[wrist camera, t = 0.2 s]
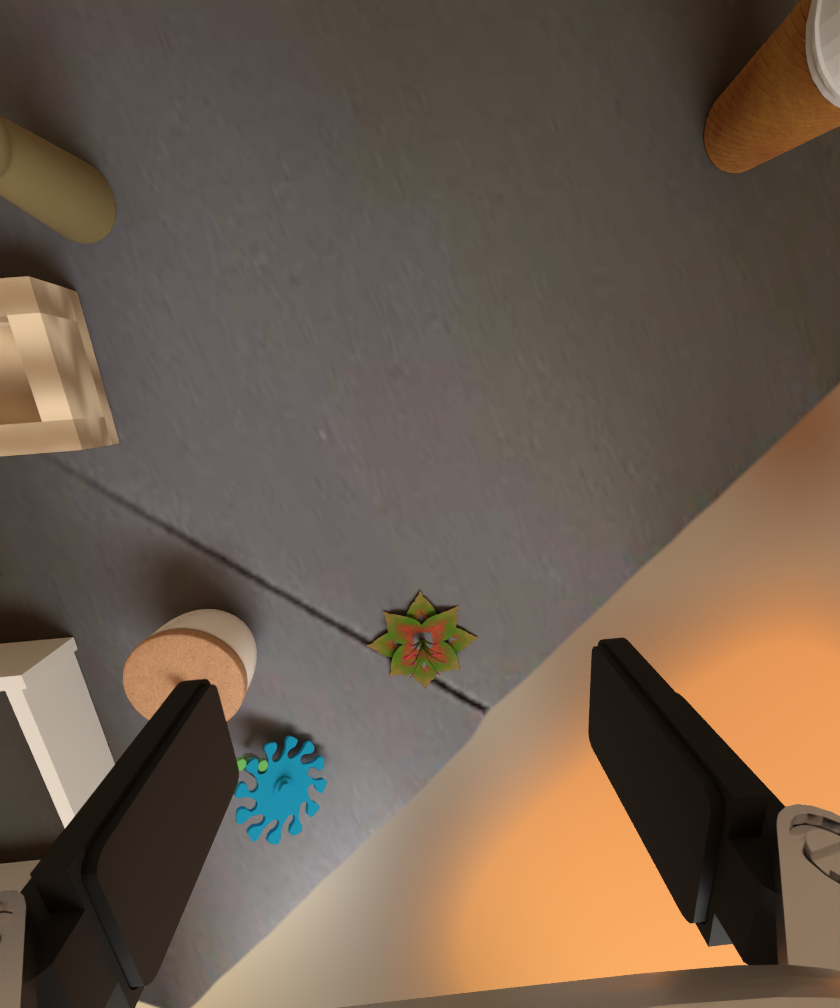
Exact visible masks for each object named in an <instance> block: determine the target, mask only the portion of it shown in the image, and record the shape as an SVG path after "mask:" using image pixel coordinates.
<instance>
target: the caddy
mask: <svg viewBox="0 0 840 1008" xmlns="http://www.w3.org/2000/svg"><path fill="white" fill-rule="evenodd" d="M113 444H119V439H118V436H117V432H116V429H115V425H114V421H113V418H112V414H111V411H110V407H109V404H108V400H107V397H106V393H105V389H104V386H103V382H102V379H101V375H100V372H99V368H98V365H97V361H96V358H95V354H94V350H93V347H92V343H91V340H90V336H89V333H88V329H87V326H86V322H85V318H84V315H83V311H82V308H81V304H80V301H79V297H78V294H77V291H73V290H70V289H67V288H64V287H61V286H58V285H55V284H52V283H48V282H45V281H42V280H39V279H36V278H33V277H30V276H25V277H11V278H0V456H11V455H23V454H35V453H48V452H60V451H73V450H84V449H90V448H95V447H101V446H107V445H113Z"/></svg>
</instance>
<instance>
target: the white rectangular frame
mask: <svg viewBox="0 0 840 1008" xmlns="http://www.w3.org/2000/svg"><path fill="white" fill-rule="evenodd" d="M76 650H77V646H76V643H75V640H74V637H69V638H58V639H47V640H36V641H25V642H14V643H3V644H0V691H6V694H7V696H8V698H9V701H10V703H11V705H12V708H13V710H14V712H15V714H16V717H17V719H18V721H19V724H20V726H21V728H22V731H23V733H24V735H25V738H26V740H27V742H28V744H29V747H30V749H31V751H32V754H33V756H34V758H35V761H36V763H37V765H38V767H39V770H40V772H41V774H42V777H43V779H44V781H45V784H46V786H47V788H48V791H49V793H50V795H51V797H52V800H53V802H54V804H55V807H56V809H57V811H58V814H59V816H60V818H61V821H62V823H63V825H64V827H65V828H66V827H67V825H68V824H69V823H70V822H71V820H72V819H73V818H74V816H75V815H76V814H77V813H78V811H79V810H80V809H81V807H82V806H83V805H84V804H85V802H86V801H87V800H88V798H89V797H90V796H91V795H92V793H93V792H94V791H95V790H96V788H97V787H98V786H99V784H100V783H101V782H102V781H103V779H104V778H105V777H106V775H107V774H108V773H109V772H110V770H111V769H112V768H113V766H114V765H115V763H114V760H113V758H112V755H111V752H110V749H109V747H108V744H107V741H106V738H105V736H104V733H103V730H102V727H101V725H100V722H99V719H98V717H97V714H96V711H95V708H94V706H93V703H92V700H91V697H90V695H89V692H88V689H87V686H86V684H85V681H84V678H83V675H82V673H81V670H80V667H79V664H78V662H77V659H76V656H75V654H74V652H75V651H76ZM39 861H40V860H32V861H23V862H13V863H3V864H0V891H6V890H16V891H18V892H19V893H20V892H21V890H22V889H23V888H24V886H25V885H26V884H27V883H28V881H29V880H30V879H31V875H30V873H31V872H32V870H33V869H34V868H35V867H36V865H37V864H38V863H39Z"/></svg>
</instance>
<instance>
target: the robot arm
mask: <svg viewBox="0 0 840 1008" xmlns="http://www.w3.org/2000/svg"><path fill="white" fill-rule="evenodd" d="M589 708H590V709H589V730H588V732H589V739H590V743H591V746H592V748H593V750H594V752H595V754H596V756H597V758H598V760H599V762H600V763H601V765H602V767H603V769H604V771H605V773H606V774H607V776H608V778H609V780H610V782H611V784H612V786H613V788H614V789H615V791H616V793H617V795H618V797H619V798H620V801H621V802H622V804H623V806H624V808H625V810H626V812H627V814H628V815H629V817H630V819H631V821H632V823H633V825H634V827H635V828H636V830H637V832H638V834H639V836H640V837H641V839H642V841H643V843H644V845H645V847H646V849H647V851H648V853H649V854H650V856H651V858H652V860H653V862H654V864H655V865H656V867H657V869H658V871H659V873H660V875H661V877H662V878H663V880H664V882H665V884H666V886H667V888H668V889H669V891H670V893H671V895H672V897H673V899H674V901H675V903H676V904H677V906H678V908H679V910H680V911H681V913H682V915H683V916H684V918H685V919H686V920H687V921H688V922H689V923H696V925H697V927H698V929H699V930H700V932H701V934H702V936H703V938H704V939H705V941H706V943H707V945H708V946H718V945H726V944H733V945H734V946H735V948H736V950H737V952H738V953H739V955H740V956H741V958H742V960H743V962H745V963H746V964H748V965H741V966H740V965H737V966H725V967H714V968H701V969H690V970H678V971H666V972H655V973H643V974H633V975H624V976H615V977H606V978H597V979H588V980H578V981H569V982H561V983H551V984H542V985H534V986H524V987H515V988H506V989H496V990H488V991H479V992H470V993H461V994H453V995H444V996H435V997H428V998H418V999H409V1000H401V1001H392V1002H384V1003H376V1004H368V1005H358V1006H350V1007H342V1008H840V816H838V815H836V814H834V813H832V812H830V811H827V810H824V809H820V808H817V807H814V806H807V805H799V804H796V805H792V806H787V807H785V806H784V805H783V804H782V803H781V802H780V801H779V800H778V798H777V797H776V796H775V795H774V794H773V793H772V792H771V791H770V790H769V789H768V788H767V787H766V786H765V784H764V783H763V782H762V781H761V780H760V779H759V778H758V777H757V776H756V775H755V774H754V773H753V772H752V770H751V769H750V768H749V767H748V766H747V765H746V764H745V763H744V762H743V761H742V760H741V759H740V758H739V757H738V756H737V754H736V753H735V752H734V751H733V750H732V749H731V748H730V747H729V746H728V745H727V744H726V743H725V742H724V741H723V739H722V738H721V737H720V736H719V735H718V734H717V733H716V732H715V731H714V730H713V729H712V728H711V727H710V725H709V724H708V723H707V722H706V721H705V720H704V719H703V718H702V717H701V716H700V715H699V714H698V713H697V712H696V711H695V710H694V708H693V707H692V706H691V705H690V704H689V703H688V702H687V701H686V700H685V699H684V698H683V697H682V696H681V695H680V694H678V693H676V692H675V691H674V690H673V689H672V688H671V687H670V686H669V685H668V683H667V682H666V681H665V680H664V679H663V678H662V677H661V676H660V675H659V674H658V673H657V672H656V670H655V669H654V668H653V667H652V666H651V665H650V664H649V663H648V662H647V661H646V660H645V659H644V658H643V656H642V655H641V654H640V653H639V652H638V651H637V650H636V649H635V648H634V647H633V646H632V644H631V643H630V642H629V641H628V640H626V639H625V638H614V639H603V640H600V641H599V643H598V646H596V647H593V649H592V661H591V684H590V707H589ZM238 778H239V769H238V764H237V761H236V757H235V753H234V749H233V745H232V742H231V738H230V734H229V730H228V727H227V723H226V719H225V715H224V711H223V708H222V704H221V700H220V696H219V693H218V689H217V686H216V685H214V684H211V683H210V681H209V680H208V679H197V680H187V681H182V682H179V683H178V684H177V685H176V687H175V688H174V689H173V691H172V692H171V693H170V694H169V696H168V697H167V698H166V700H165V701H164V702H163V703H162V705H161V706H160V707H159V709H158V710H157V711H156V712H155V714H154V715H153V716H152V718H151V719H150V720H149V721H148V723H147V724H146V725H145V727H144V728H143V729H142V730H141V732H140V733H139V734H138V736H137V737H136V738H135V739H134V741H133V742H132V743H131V745H130V746H129V747H128V748H127V750H126V751H125V752H124V754H123V755H122V756H121V757H120V759H119V760H118V761H117V763H116V764H115V765H114V766H113V768H112V769H111V770H110V772H109V773H108V774H107V775H106V777H105V778H104V779H103V781H102V782H101V783H100V784H99V786H98V787H97V788H96V790H95V791H94V792H93V793H92V795H91V796H90V797H89V798H88V800H87V801H86V802H85V804H84V805H83V806H82V807H81V809H80V810H79V811H78V813H77V814H76V815H75V816H74V818H73V819H72V820H71V822H70V823H69V824H68V825H67V827H66V828H65V829H64V831H63V832H62V833H61V834H60V836H59V837H58V838H57V840H56V841H55V842H54V843H53V845H52V846H51V847H50V849H49V850H48V851H47V852H46V854H45V855H44V856H43V858H42V859H41V860H40V861H39V863H38V864H37V865H36V867H35V868H34V869H33V870H32V872H31V873H30V875H31V879H30V880H29V881H28V883H27V884H26V885H25V886H24V888H23V889H22V890H21V892H20V893H19V892H18V891H16V890H6V891H0V1008H135V1006H136V1004H137V1002H138V1000H139V997H140V995H141V993H142V990H143V988H144V986H147V985H149V984H150V983H151V982H152V981H153V979H154V978H155V976H156V975H157V972H158V970H159V968H160V966H161V964H162V961H163V959H164V957H165V954H166V952H167V949H168V947H169V945H170V942H171V940H172V938H173V935H174V933H175V931H176V928H177V926H178V923H179V921H180V919H181V916H182V914H183V912H184V909H185V907H186V905H187V902H188V900H189V897H190V895H191V893H192V890H193V888H194V886H195V883H196V881H197V879H198V876H199V874H200V872H201V869H202V867H203V864H204V862H205V860H206V857H207V855H208V853H209V850H210V848H211V846H212V843H213V841H214V838H215V836H216V834H217V831H218V829H219V827H220V824H221V822H222V820H223V817H224V815H225V812H226V810H227V808H228V805H229V803H230V801H231V798H232V796H233V794H234V791H235V789H236V786H237V783H238Z"/></svg>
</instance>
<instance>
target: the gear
mask: <svg viewBox="0 0 840 1008" xmlns="http://www.w3.org/2000/svg"><path fill="white" fill-rule="evenodd" d="M297 742H298V740H297V739H296V738H294V737H292V736H288V735H287V736H286V738H285V741H284V749H283V751H282V753H281V755H280V757H279V758H278V759H277V760H276V761H272V756H273V754H274V753H275V751H276V749H277V744H276V743H275V742H269V743H266V744H264V747H263V749H264V752H265V753H266V757H267V761H266V760H265V759H263V758H259V757H257V756H256V755H255V754H253V753H247V754H246V753H245V754H243V755H242V757H238V758H237V759H236V761H237V764H238V769H239V771H241V770H243V769H244V770H245V771H246V772H248V773H249V774H251V775H252V776H253V777H255V778H256V781H257V786H256V788H255V789H254V790H252V791H249V790H248V787H247V785H246V783H245V782H243V781H241V782H239V783H238V785H237V786H236V789H235V791H234V795H235V796H236V797H237V798H242V797H251V798H253V799H254V800H256V805H255V806H254V808H252V809H250V810H249V809H247V808H245V807H244V806H241V807H239V808H237V810H236V822H237V824H242V823H244V822H245V821H246V820H247V819H248V818H250V817H251V816H254V815H258V814H263V815H264V817H263V820H262V821H261V822H260V823H258V824H252V825H250V826H249V827H248V828H247V833H248V835H249V837H250V839H251V840H252V841H253V842H254V841H256V840H257V839H258V838H259V836H260V834H261V832H262V830H263V829H264V828H265V826H266V825H267V824H269V823H270V822H271V821H273V820H275V819H277V825H276V826H275V827H274V828H273V829H271V830H270V831H269V832H268V834H267V836H266V839H267V841H268V842H269V843H271V844H278V843H279V841H280V838H281V829H282V826H283V824H284V822H285V820H286V819H287V817H288V816H289V815H293V819H292V821H291V823H290V824H289V827H288V831H289V833H290V834H291V835H296V834H298V833H300V832H301V831H302V825H301V823H300V821H299V808H300V805H301V803H302V802H304V801H306V813H307V814H308V815H309V816H310V817H312V816H313V815H314V814H315V813H316V812H317V811H318V809H319V805H318V804H317V803H316V802H314V801H312V800H311V799H310V798H309V795H308V792H307V789H308V787H309V786H310V785H311V784H314V788H315V789H316V790H317V791H318V792H319V793H322V792H323V791H324V789H325V786H326V783H327V781H326V780H325V779H323V778H317V779H313V778H310V777H309V776H308V770H309V768H311V767H315V768H316V769H318V770H322V769H323V768H324V758H323V757H322V756H317V757H315V758H314V759H313V760H312V761H310V762H307V763H301V761H300V759H301V757H302V755H304V754H311V753H312V752H313V751H314V749H315V748H314V746H313V744H312V743H311V742H310V741H309V740H306V741H305V742H304V743H303V745H302V747H301V749H300V750H299V751H298V752H297V753H296V754H295V755H293V756H292V757H288V752H289V750H290V749H292V748H293V747H295V746H296V744H297Z"/></svg>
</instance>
